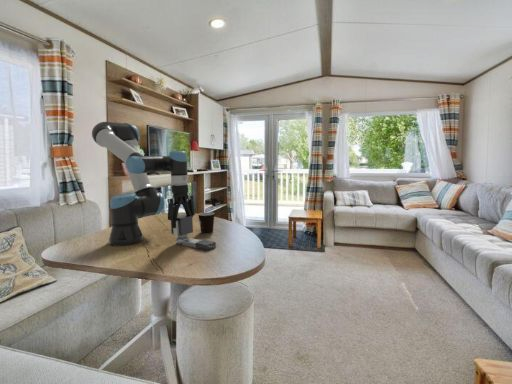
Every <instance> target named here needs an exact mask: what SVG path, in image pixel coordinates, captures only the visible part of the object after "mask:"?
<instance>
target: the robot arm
mask: <svg viewBox="0 0 512 384" xmlns="http://www.w3.org/2000/svg"><path fill="white" fill-rule="evenodd" d="M140 136H141V135H140V131H139V130H138V128H137V126H136V125H134V124H132V123H127V122H114V121H101V122H99V123H97V124H95V126H94V127H93V128H92V131H91V137H92V139H93V141H94V142H95V143H96V144H97V145H98V146H99V147H102V148H105V149H107V150H108V151H109V152H110V153H112V154H113V155H115V156H116V157H117V158H118V159H120V160H121V161H122V162H124V165H125V168H126V170H127V173H128V176H129V179H130V182H131V184H132V187H133V190H134V191H133V192H126V193H125V192H124V193H120V194H115V195H113V196H112V197H111V198H110V200H109V201H110V202H109V208H110V217H111V230H110V234H109V238H108V242H109V243H110V244H112V245H111V246H114V245H120V246H119V247H122V245H123V246H130V245H131V246H132V245H134V244H138V243H140V242H142V241H144V237H143V235H144V234H143V233H142V229H141V228H140V226H139V218H144V217H150V216H151V217H152V216H155V215H157V214H158V215H159V214H161V213H162V211H163V210H164V208H165V202H166V201H165V197H164V195H163V193H161V192H159V191H157V189H156V187H155V186H152V185H151V182H150V179H149V176H148V173H149V174H151V173H169V172H170V179H171V180H170V181H171V182H170V183H171V193H172V197H171V198H167V221H170V222H171V221H172V228H173V232H174V234H173V235H177V236H178V235H179V230H178V221H176V220H177V216H178V215H179V211H180V207H181V205H182V207H183V210H184V212H185V215H190V216H192V218H193V217H194V216H195V215H196V214H195V206H194V195H190V194H188V193H189V185H188V183H189V176H188V175H189V173H188V158H187V152H186V151H184V150H172V151H170V152H169V155H144V154H141V153H140V152H139V150H138V146H139V142H140V140H141V139H140ZM109 243H108V244H109ZM110 244H109V245H110Z"/></svg>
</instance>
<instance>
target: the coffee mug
mask: <svg viewBox="0 0 512 384" xmlns="http://www.w3.org/2000/svg"><path fill="white" fill-rule="evenodd" d="M197 216H198V221H199V227H200V232H201V234H211V233H214V224H215V212H199V213H198V215H197Z"/></svg>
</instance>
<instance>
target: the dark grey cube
mask: <svg viewBox="0 0 512 384" xmlns="http://www.w3.org/2000/svg"><path fill="white" fill-rule="evenodd" d="M176 221H178V230H179V235H181V236H182V235H185V234H187V235H188V234H192V233H194V224H193V217H192V216H190V215H186V214H178V215H177V220H176ZM170 228H171V229H170V231H171V235H175V234H174V232H173V228H172V221H171V220H170Z"/></svg>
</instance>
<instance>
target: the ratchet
mask: <svg viewBox="0 0 512 384" xmlns="http://www.w3.org/2000/svg"><path fill="white" fill-rule="evenodd" d="M175 243H176V245H180V246H181V245H182V246H187V247H190V248H195V249H198V250H202V251H206V252H207V251H209V250H212V249H214V248H217V247H216V245H217V244H216V241H213V240H208V239H202V240H201V239H197V238H196V239H195V238H193V237H191V238H190V237H189V236H188V234H185V235H182V236H181V235H177V237H176V238H175Z"/></svg>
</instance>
